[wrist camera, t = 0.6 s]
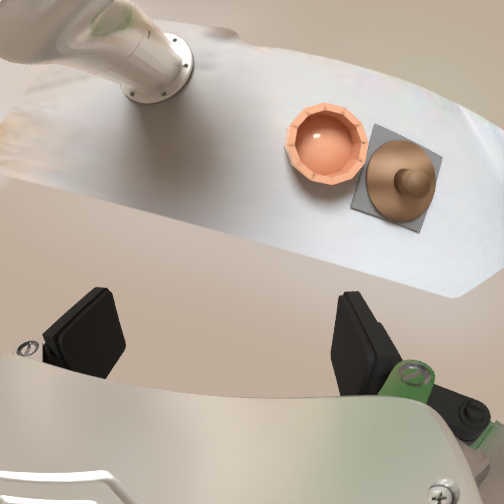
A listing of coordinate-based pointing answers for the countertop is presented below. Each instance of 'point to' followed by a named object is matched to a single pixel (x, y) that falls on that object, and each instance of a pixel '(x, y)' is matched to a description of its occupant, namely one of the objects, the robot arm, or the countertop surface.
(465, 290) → the countertop surface
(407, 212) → the lid
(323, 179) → the bowl
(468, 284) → the countertop surface
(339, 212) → the countertop surface
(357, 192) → the mat
